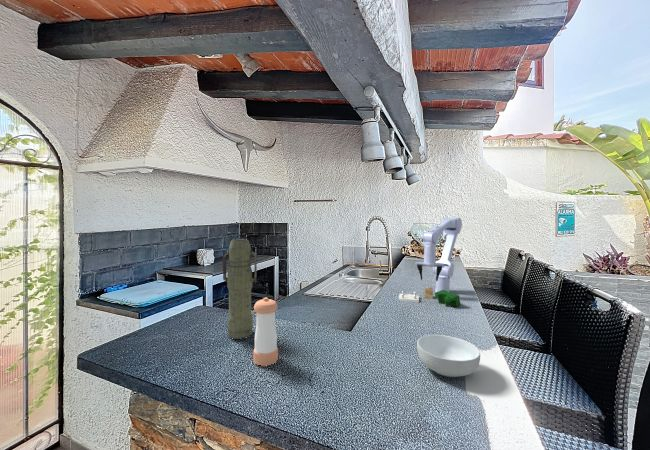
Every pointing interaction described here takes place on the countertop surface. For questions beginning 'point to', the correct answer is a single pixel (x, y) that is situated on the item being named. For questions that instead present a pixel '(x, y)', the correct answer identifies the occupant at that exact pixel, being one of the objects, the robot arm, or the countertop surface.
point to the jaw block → (428, 293)
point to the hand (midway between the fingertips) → (429, 280)
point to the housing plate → (409, 297)
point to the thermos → (239, 288)
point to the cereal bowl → (448, 355)
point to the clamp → (448, 298)
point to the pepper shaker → (265, 333)
